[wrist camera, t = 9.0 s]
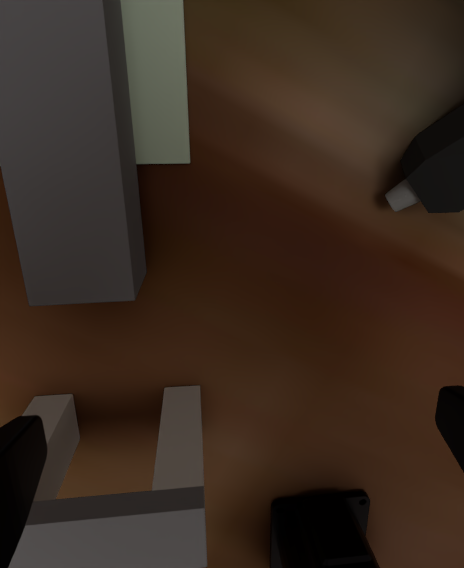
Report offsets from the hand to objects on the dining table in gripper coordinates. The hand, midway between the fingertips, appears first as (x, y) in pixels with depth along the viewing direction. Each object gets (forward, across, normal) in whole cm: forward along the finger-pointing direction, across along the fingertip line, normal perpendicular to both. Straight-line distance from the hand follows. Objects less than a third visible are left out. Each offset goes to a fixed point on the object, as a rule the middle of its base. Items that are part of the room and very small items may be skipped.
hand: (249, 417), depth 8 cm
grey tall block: (+11, +6, -8) cm, 14 cm away
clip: (+12, +6, +8) cm, 15 cm away
